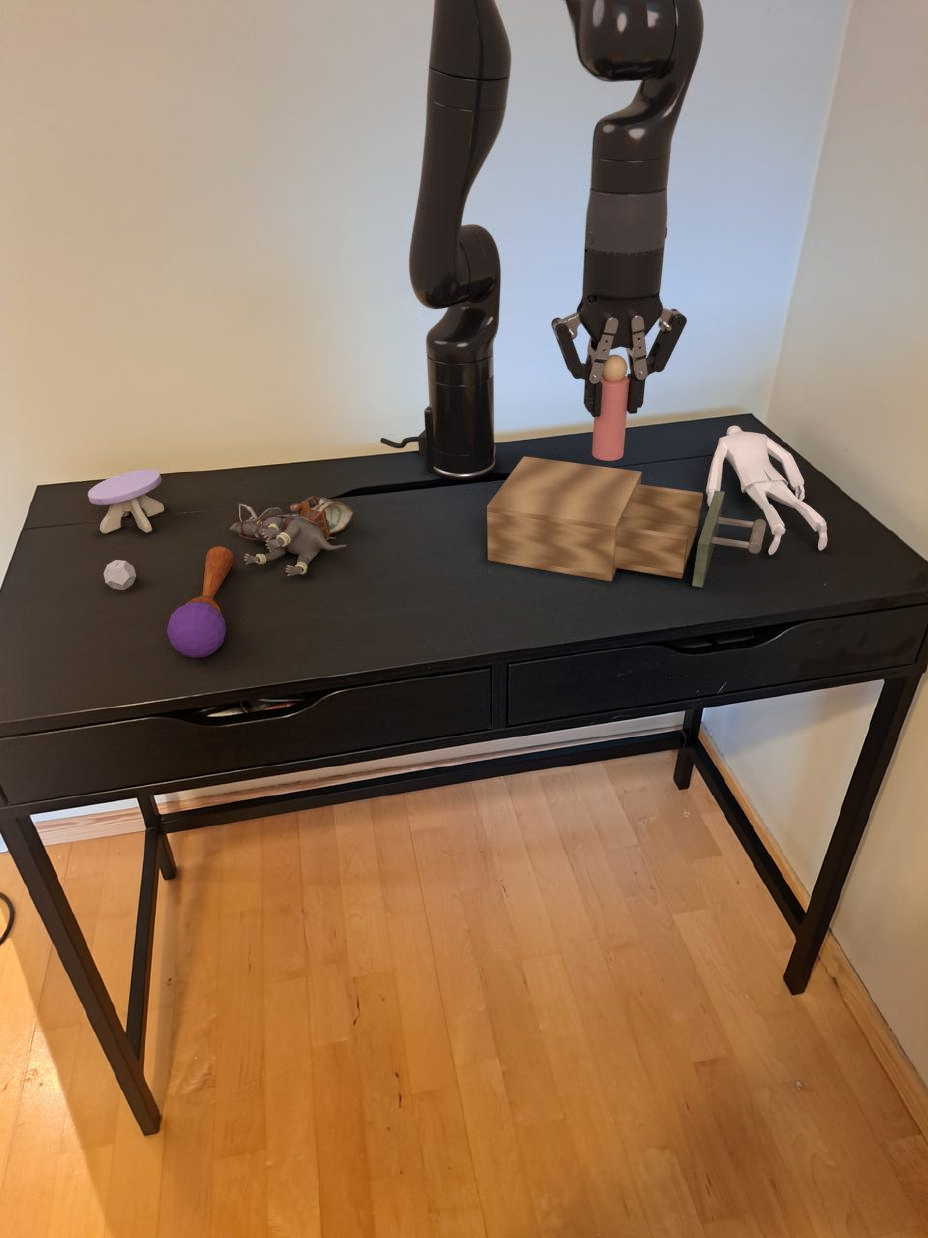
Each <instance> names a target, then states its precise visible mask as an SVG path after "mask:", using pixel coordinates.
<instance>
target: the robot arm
mask: <svg viewBox="0 0 928 1238" xmlns="http://www.w3.org/2000/svg"><path fill="white" fill-rule="evenodd" d="M562 2H563V4H564V5H565V8H566V11H567V14H568V19H569V22H570V26H571V31H572V35H573V41H574V47H575V53H576V56H577V60H578V62H579V64H580V66H581V67H582V68H583V70H584V71H585V72H586V73H587V74H588V75H590V76H591V77H592V78H594V79H596V80H598V81H601V82H604V83H623V82H635V81H636V82H639V81H640V82H639V84H638V88H637V90H636V93H635V94H634V97H633V99H632V101H631V102H630V104H628V105H627V106H625V107H624V108H622V109H620V110H617V111H614V112H612V113H609V114H607V115H604V116H603V117H601V118H600V119H599V120H597V122H596V123H595V125H594V128H593V133H592V143H591V159H590V164H591V165H590V181H589V195H588V201H587V205H586V212H585V226H584V249H583V252H584V253H583V269H582V292H581V293H582V294H581V299H580V302H579V303H578V305H577V307H576V311H575V312H574V313H572V314H570V315H568V316H565V317H564V318H561V317H555V318H553V319H552V320H551V322H550V323H551V324H550V325H551V329H552V332H553V334H554V336H555V339H556V342H557V344H558V347H559V351H560V352H561V355H562V358H563V361H564V364H565V366H566V369H567V370H568V371H569V372H570V374H571V376H572V378H573V379H575V380H583V381H584V389H583V405H584V408H585V409H586V411H587V413H589V414H590V415H591V416H592V418H594V417H600V415H601V400H602V383H601V381H600V380H601V376H602V372H603V369H604V365H605V363H606V362H607V360H608V357H609V355H610V353H611V350H615V349H618V348H623V349H625V351H626V355H627V359H628V360H627V361H628V362H627V363H628V368H629V373H626V376H627V377H628V378H629V392H628V404H627V414H629V415H633V414H634V415H636V414H637V413H638V409H641V408H642V407H643V405H644V400H645V387H646V381H647V378H648V377H649V376H650V375H652V374H654V373H661V372H663V371H664V370H665V368H666V366H667V364H668V362H669V361H670V358H671V356H672V354H673V352H674V350H675V348H676V346H677V343H678V342H679V339H680V337H681V336H682V334H683V331H684V329H685V327H686V325H687V323H688V318H687V317H686V316H685V315H684V314H683V313H682V312H680V310H678V309H677V308H671V309H669V308H666V307H664V306H663V302H662V299H661V296H660V294H661V287H662V278H663V268H664V255H665V246H666V239H667V236H668V225H667V224H668V186H669V185H668V184H669V173H670V163H671V153H672V142H673V137H674V134H675V130H676V128H677V124H678V121H679V119H680V115H681V112H682V109H683V105H684V102H685V100H686V96H687V93H688V90H689V87H690V85H691V81H692V78H693V75H694V73H695V70H696V67H697V63H698V61H699V57H700V55H701V54H700V53H701V50H702V44H703V39H704V30H705V25H704V24H705V22H704V12H703V7H702V3H701V0H562ZM433 3H434V4H433V17H432V25H431V27H432V29H431V37H430V38H431V39H430V46H429V47H430V49H429V57H428V70H427V86H426V104H425V106H426V107H425V125H424V126H425V127H424V139H423V140H424V141H423V149H422V150H423V151H422V160H421V170H420V171H421V172H420V181H419V187H418V188H419V189H418V196H417V201H416V208H415V213H414V220H413V225H412V232H411V238H410V244H409V253H408V274H409V281H410V286H411V289H412V291H413V293H414V297H415V298H416V299H417V300H418V301H419V303H420V304H421V305H422V306H423V307H425V308H427V309H431V310H442V309H446V311H445V312H444V314H443V316H442V317H441V318H440V319H439V320H438V322H436V323H435V324H434V325H433V326H432V327H431V328H430V329H429V330H428V332H427V333H426V335H425V336H426V337H425V351H426V367H427V385H428V386H427V387H428V389H427V390H428V406H426V408H424V412H423V414H424V415H423V417H424V430H423V431H422V432H421V433H419V434H418V435H417V436H408V437H406V438H403V439H402V441H401V442H395V441H392V440H389V439H387V438H385V437H380V441H379V442H380V444H384V445H385V446H388V447H391V448H393V449H404V448H406V446H407V444H409V443H418V456H423V457H426V469H427V472H430V473H434V474H435V475H436V476H438V477H440V478H443V479H447V480H450V481H471V480H478V479H481V478H484V477H486V476H488V475H490V474H492V473H493V472H494V470H495V468H496V457H495V456H496V453H497V446H496V445H497V444H496V443H497V442H496V441H495V377H494V375H495V374H494V373H495V371H494V370H495V369H494V360H495V359H494V358H495V357H494V342H495V339H496V337H497V334H498V331H499V326H500V310H501V309H500V307H501V306H500V305H501V289H502V288H501V287H502V285H501V284H502V267H501V258H500V257H501V256H500V252H499V249H498V246H497V243H496V241H495V239H494V237H493V235H492V234H491V233H490V232H489V230H488V229H487V228H486V227H483V226H482V225H479V224H476V223H467V224H462V223H463V217H464V212H465V208H466V204H467V200H468V197H469V195H470V192H471V190H472V188H473V185H474V183H475V182H476V179H477V178H478V175H479V173H480V172H481V170H482V168H483V166H484V164H485V162H486V161H487V159H488V157H489V155H490V154H491V151H492V150H493V148H494V146H495V144H496V141H497V139H498V137H499V134H500V133H501V130H502V127H503V124H504V122H505V121H504V120H505V117H506V111H507V104H508V95H509V87H510V80H511V71H512V61H513V60H512V58H513V57H512V49H511V43H510V39H509V36H508V33H507V29H506V27H505V24H504V22H503V18H502V16H501V12H500V11H499V8H498V5H497V3H496V1H495V0H434V2H433ZM657 322H658V328H659V331H658V333H657V334H656V337H655V339H654V341H653V343H652V346H651V347H650V350H649V352H647V343H646V336H647V335H648V334H649V333H650V331H651V330H652V329H653V327H654V326H655V325H656V323H657ZM580 325H582V327H583V328H584V330H585V331H586V332H587V335H588V336H589V340H588V344H587V350H586V351H587V354H586V358H585V362H581V359H580V356H579V353H578V351H577V348H576V345H575V343H574V340H575V339H576V338H577V337H578V333H579V332H578V328H579V326H580Z"/></svg>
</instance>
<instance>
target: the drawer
mask: <svg viewBox="0 0 928 1238" xmlns="http://www.w3.org/2000/svg"><path fill="white" fill-rule="evenodd" d="M725 494H726V492H725V491H722V490H720V491H715V492H714V495H713V498H712V501H711V504H710V507H709V506H708V507H709V508H708V511H707V514H706V516H705V520H704V523H703V526H702V529H701V533H700V535H699V539H698V542H697V549H696V555H695V562H694V569H693V578H692V585H691V586H692V587H697V588H703V587H704V584H705V581H706V577H707V574H708V571H709V567H710V563H711V560H712V558H713V557H712V556H713V552H714V549H715V547H716V546H715V545H722V546H727V547H733V548H734V547H735V548H741V549H748V552H750V553H751V554H758V553H760V552H761V550H762V546H763V541H764V537H765V532H766V528H767V527H766V526H767V522H766V521H765V520H764V519H763V518H759V519H756V520H754V521H749V520H743V519H736V518H730V517H729V518H728V517H722V512H723V505H724V501H725ZM703 496H704V493H703V492H700V491H692V490H691V491H690V490H685V489H684V490H683V489H676V488H669V487H662V486H655V485H649V484H648V485H647V484H638V485H637V487H636V489H635V491H634V493H633V495H632V498H631V500H630V502H629V504H628V506H627V508H626V510H625V512H624V514H623V517H622V519H621V521H620V523H619V525H618V527H617V533H616V545H615V558H614V567H615V568H617V569H621V570H627V571H634V572H640V573H645V574H651V575H657V576H662V577H663V576H664V577H669V578H675V579H681V580H682V579H683V577H684V573H685V571H686V567H687V565H688V561H689V558H690V556H691V552H692V549H693V546H694V544H695V540H696V537H697V534H698V531H699V525H700V518H701V510H702V503H703ZM720 525H727V526H735V527H742V528H749V529H751V534H750V538H749V541H743V540H737V539H731V538H725V537H718V535H719V531H720Z"/></svg>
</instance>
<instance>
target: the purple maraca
mask: <svg viewBox="0 0 928 1238" xmlns="http://www.w3.org/2000/svg"><path fill="white" fill-rule="evenodd" d="M234 561H235V557H234V554H233V553H232V551H231V550H230V549H228V548H227V547H225V546H213V547H211V548H210V549H209V550H208V551H207V553H206V556H205V566H204V576H203V585H202V595H201V596H197V597H194V598H192V599H190V600H188V601H187V602H186V603H185V604H183V605H181V606H179V607H177V608H176V609H175V610H174V612H172V614H171V616H170V618H169V621H168V625H167V629H166V632H167V636H168V640H169V642H170V645H172V647H173V648H174V650H175V651H176V652H177V653H179V654H181V655H183V656H184V657H187V658H192V659H200V658H202V659H203V658H205V657H208V656H210V655H213V653H216V652H217V651H218V650H219V649H220V647H221V646H222V645H223V644H224V640H225V636H226V633H227V625H226V620H225V619H224V617H223V614H222V611H221V608H220V607H219V606H218V604H217V603H216V601H215V600H214V598H215V596H216V594H217V593H218V591H219V589H220V587H221V586H222V584H223V582H224V580H225V579H226V577H227V576H228V573H229V572H230V570H231V568H232V567H233V565H234Z"/></svg>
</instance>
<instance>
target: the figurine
mask: <svg viewBox="0 0 928 1238" xmlns="http://www.w3.org/2000/svg"><path fill="white" fill-rule="evenodd" d="M241 507H244V508H245V509H247V511H248V512H250V514H251V516H249V518H248V519H246V520H242V518H241ZM289 509H290V512H283V510H282V509H281V508H280V507H270V508H267V509H266V510H264V511H263V512H262V513H261V514H260V515H259V516H258V515H257V514H256V512H255V511H254V509H253V508H252V506H249V505H247V504H245V503H244V504H243V503H238V512H239V513H238V515H239V520H240V521H239V522H235V523H233V524H232V525H231V526H230V528H229V531H232V532H234V533H237V535H239V536H240V538H241V537H242V538H243V539H247V540H253V541H261V542H263V543H264V542H265V543H266V544H265V546H266V549H268V553H265V554H263V553H257V554H256V555H255V556H253V555H250V554H249V553H244V554H245V556H243V558H244V559H243V561H245V562H246V563H245V565H253V564H257V565H264V564H265V563H266V562H272V561H275V560H277V559H279V558H281V557H283V556H285V555H286V553H287V552H288V553H290V554H292V555H298V556H297V560H296V564H295V565H294V566H293V565H290V564H288V565H286V568H285V573H288V574H287V577H293V576H296V575H305V574H307V570H308V566H309V565H310V563H311V562H312V560H313V559H314V558H315V557H316V556H318V554H319V552H321V550H324V551H329V552H331V551H337V550H339V549H342V548H346V547H347V544H339V545H333V544H330V541H328V540H329V539H332V540H336V539H337V538H336V537H335V536H330V535H332V534H337V533H339V532H341V531H344V529H346V527H347V526H348V525H349V523H350V521H351V520H352V518H353V516H354V511H353V510H352V509H351V508H350V506H348V505H347V504H345V503H344V502H340V501H337V500H334V501H333V500H332V499H327V498H325V497H322V496H320V497H318V496H317V495H311V496H309V497H307V499H305V500H302V501H301V502H300V503H296V502H295V503H293V504H291V505H290V506H289Z"/></svg>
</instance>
